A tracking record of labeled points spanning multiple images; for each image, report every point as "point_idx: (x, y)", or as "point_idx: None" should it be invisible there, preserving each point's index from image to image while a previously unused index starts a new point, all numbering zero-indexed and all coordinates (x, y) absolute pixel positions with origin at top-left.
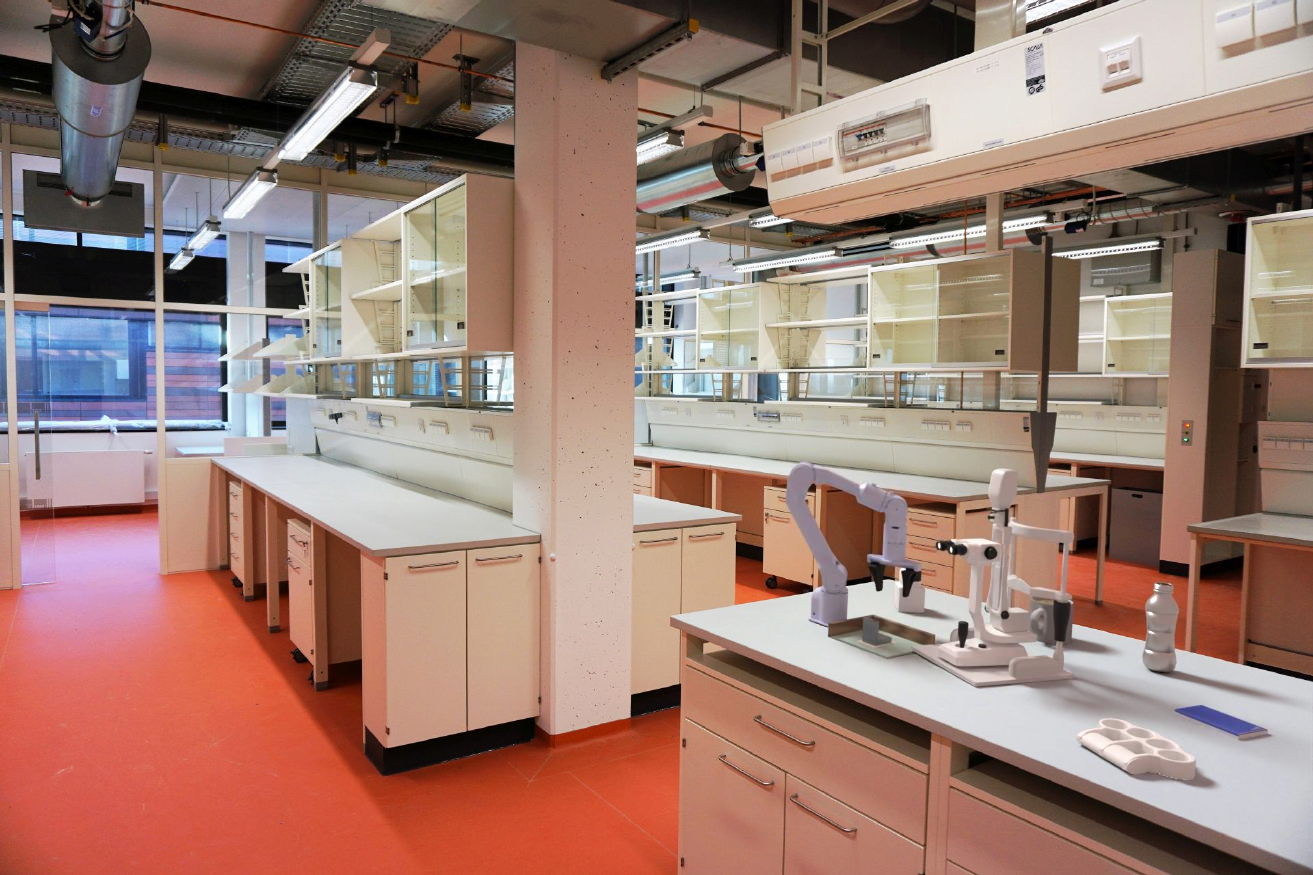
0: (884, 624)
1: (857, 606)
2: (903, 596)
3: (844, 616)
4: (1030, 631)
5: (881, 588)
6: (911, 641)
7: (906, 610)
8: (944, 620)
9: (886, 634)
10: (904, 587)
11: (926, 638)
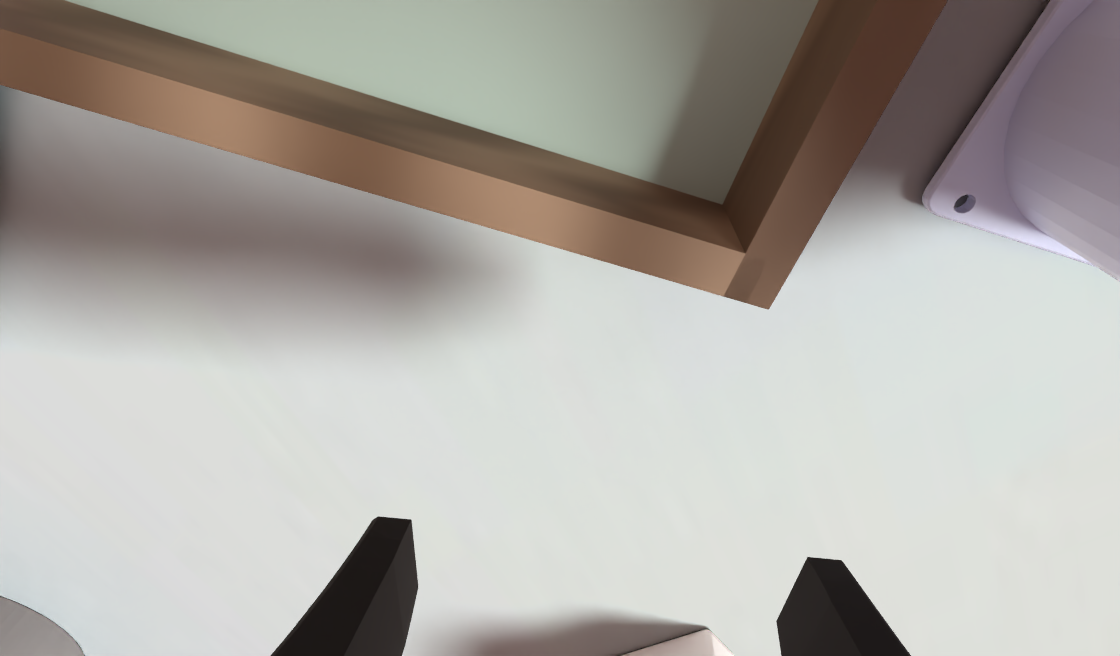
0: (592, 188)
1: (975, 599)
2: (397, 524)
3: (1087, 103)
4: (3, 638)
5: (791, 638)
6: (255, 48)
7: (670, 649)
8: (448, 624)
9: (537, 94)
10: (308, 652)
11: (18, 13)
